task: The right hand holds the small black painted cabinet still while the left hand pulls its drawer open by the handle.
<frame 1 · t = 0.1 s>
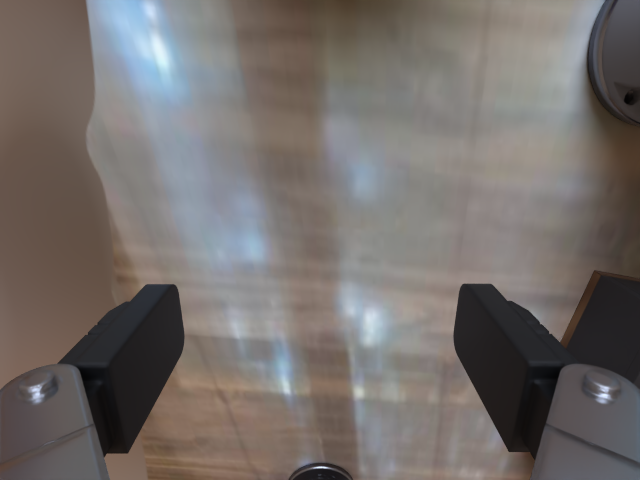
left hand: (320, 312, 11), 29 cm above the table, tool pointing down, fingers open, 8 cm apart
cabinet: (600, 355, 47), on the table
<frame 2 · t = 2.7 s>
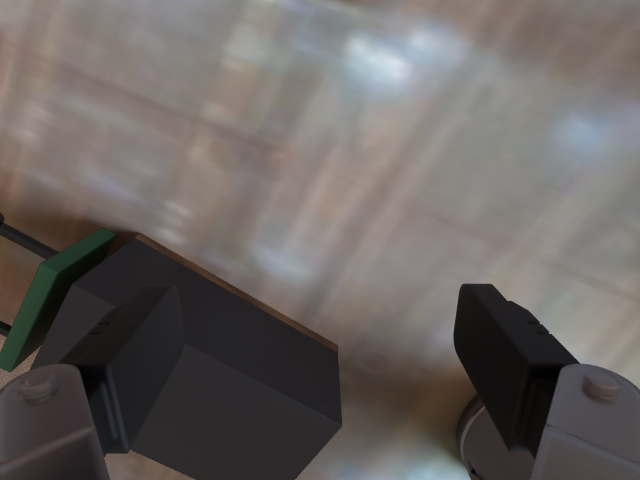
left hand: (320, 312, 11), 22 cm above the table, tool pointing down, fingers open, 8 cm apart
drawer: (131, 331, 32), point 5 cm above the table, slide at 1.4 cm
cabinet: (216, 334, 37), on the table
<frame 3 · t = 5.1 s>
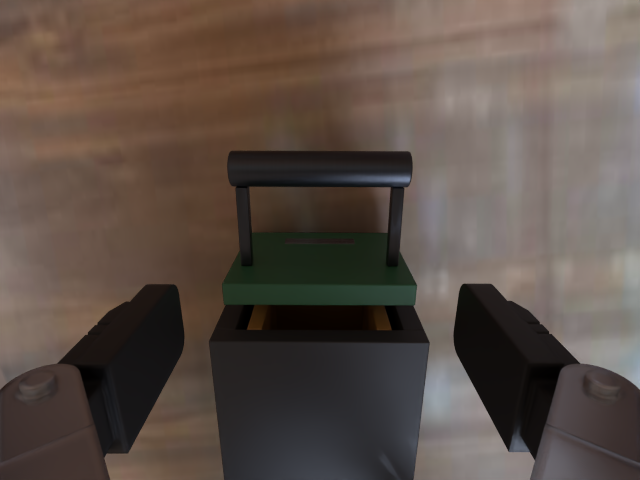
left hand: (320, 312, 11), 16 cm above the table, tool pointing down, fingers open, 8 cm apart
drawer: (319, 350, 25), point 5 cm above the table, slide at 1.4 cm
cabinet: (319, 378, 32), on the table, touching right hand
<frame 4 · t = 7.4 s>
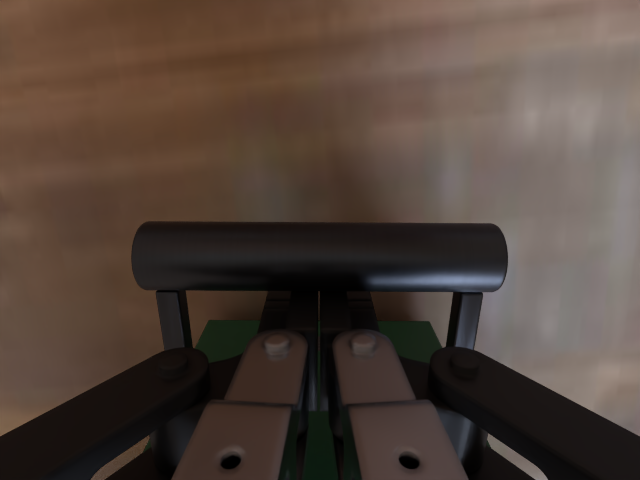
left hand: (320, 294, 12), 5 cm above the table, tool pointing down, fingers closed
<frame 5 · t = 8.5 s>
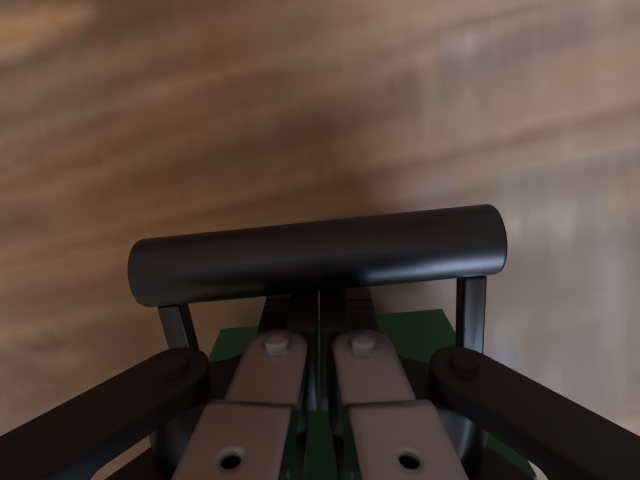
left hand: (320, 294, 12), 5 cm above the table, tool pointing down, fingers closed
when the right hand's fingers open (5 cm above the table, at t = 10.3 s): cabinet stays where it is, on the table.
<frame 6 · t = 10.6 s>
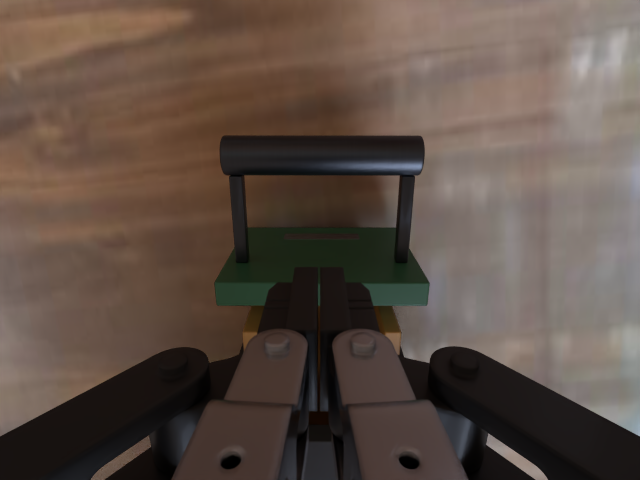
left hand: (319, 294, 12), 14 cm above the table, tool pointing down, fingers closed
drawer: (321, 354, 23), point 5 cm above the table, slide at 6.9 cm
cabinet: (320, 437, 32), on the table
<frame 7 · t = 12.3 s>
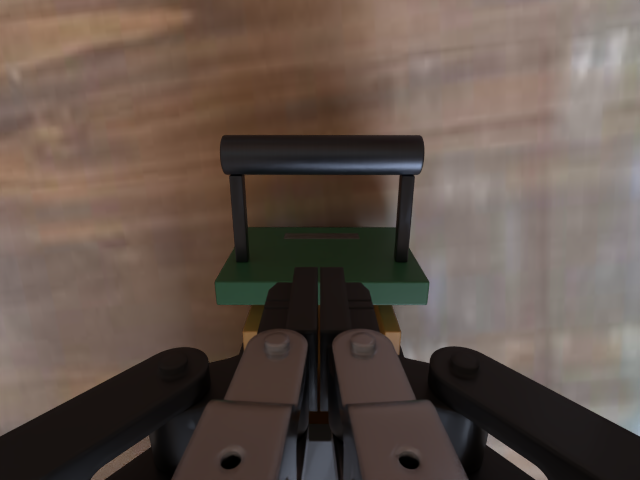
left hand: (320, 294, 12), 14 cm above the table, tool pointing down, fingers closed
drawer: (321, 353, 23), point 5 cm above the table, slide at 6.9 cm
cabinet: (320, 437, 32), on the table
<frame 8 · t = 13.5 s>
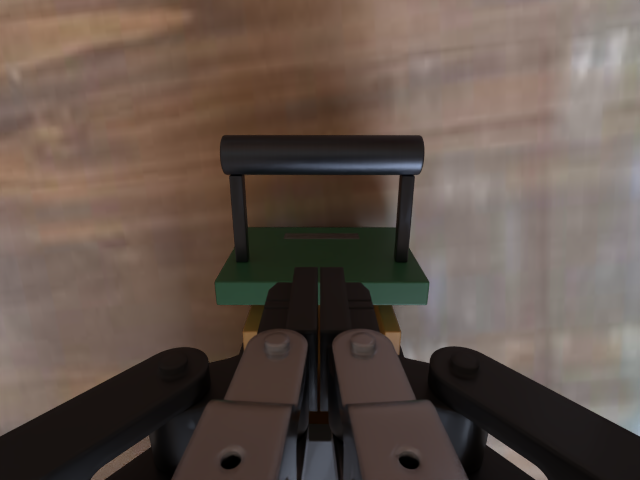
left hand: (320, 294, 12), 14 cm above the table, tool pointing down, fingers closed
drawer: (321, 353, 23), point 5 cm above the table, slide at 6.9 cm
cabinet: (320, 437, 32), on the table
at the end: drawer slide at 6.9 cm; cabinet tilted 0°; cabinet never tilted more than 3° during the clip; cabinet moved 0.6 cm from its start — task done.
